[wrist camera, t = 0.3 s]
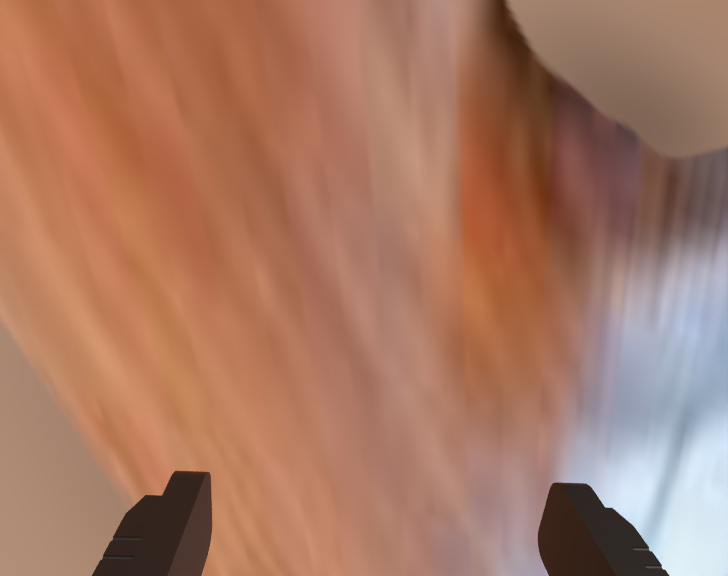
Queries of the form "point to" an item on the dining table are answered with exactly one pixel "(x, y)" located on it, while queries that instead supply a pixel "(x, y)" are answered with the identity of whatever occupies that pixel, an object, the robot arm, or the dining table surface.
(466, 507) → the dining table surface
